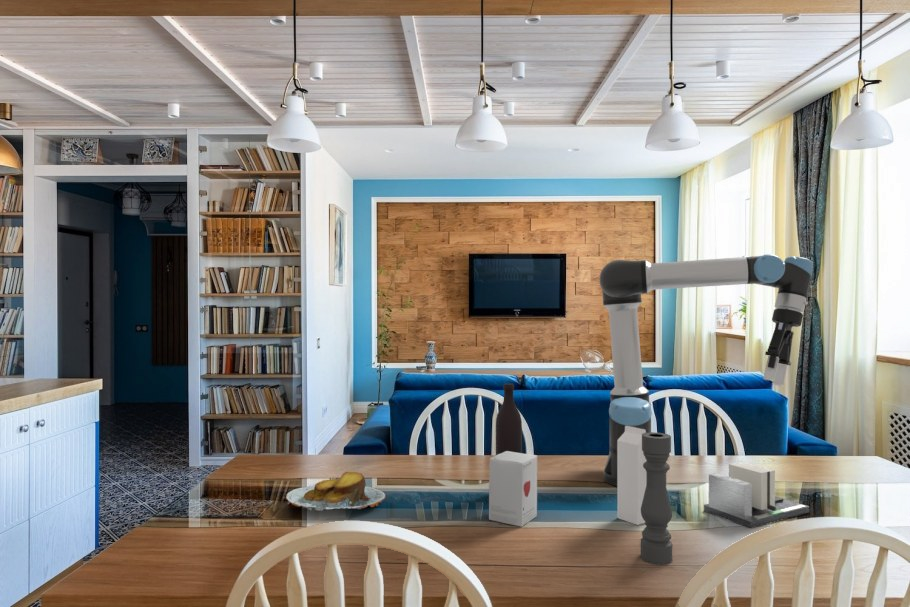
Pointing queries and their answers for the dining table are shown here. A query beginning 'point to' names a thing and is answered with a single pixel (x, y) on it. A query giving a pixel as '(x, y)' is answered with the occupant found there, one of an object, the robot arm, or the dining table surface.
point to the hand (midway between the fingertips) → (773, 382)
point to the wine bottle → (508, 424)
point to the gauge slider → (756, 483)
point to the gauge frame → (745, 503)
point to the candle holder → (656, 500)
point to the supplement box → (513, 488)
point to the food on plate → (337, 494)
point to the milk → (630, 475)
